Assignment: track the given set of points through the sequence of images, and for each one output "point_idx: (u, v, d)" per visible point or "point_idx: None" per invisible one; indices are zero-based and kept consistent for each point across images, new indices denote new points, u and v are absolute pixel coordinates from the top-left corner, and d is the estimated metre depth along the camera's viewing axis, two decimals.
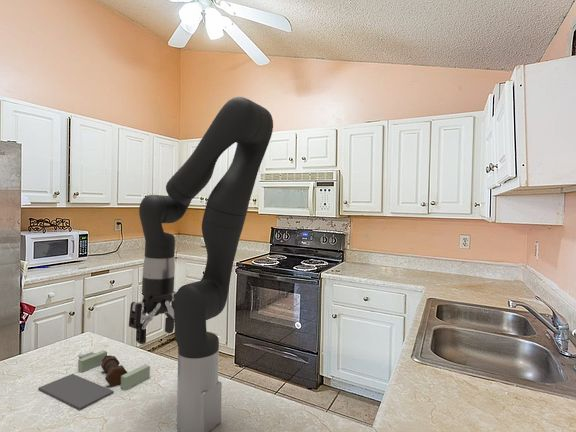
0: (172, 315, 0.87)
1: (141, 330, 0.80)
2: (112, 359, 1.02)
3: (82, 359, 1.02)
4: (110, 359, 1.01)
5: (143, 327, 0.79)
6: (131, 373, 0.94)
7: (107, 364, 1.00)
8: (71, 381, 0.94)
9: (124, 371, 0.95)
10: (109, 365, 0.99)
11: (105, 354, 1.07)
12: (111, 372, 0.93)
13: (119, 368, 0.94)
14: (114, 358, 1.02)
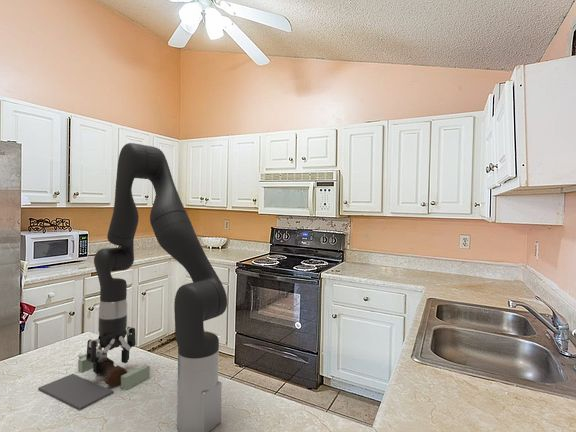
0: (127, 348, 1.03)
1: (97, 363, 0.95)
2: (105, 361, 1.00)
3: (82, 359, 1.02)
4: (103, 362, 1.00)
5: (98, 360, 0.95)
6: (131, 373, 0.94)
7: (102, 367, 0.98)
8: (71, 381, 0.94)
9: (122, 370, 0.94)
10: (104, 368, 0.97)
11: None
12: (109, 375, 0.92)
13: (116, 369, 0.93)
14: (107, 359, 1.00)
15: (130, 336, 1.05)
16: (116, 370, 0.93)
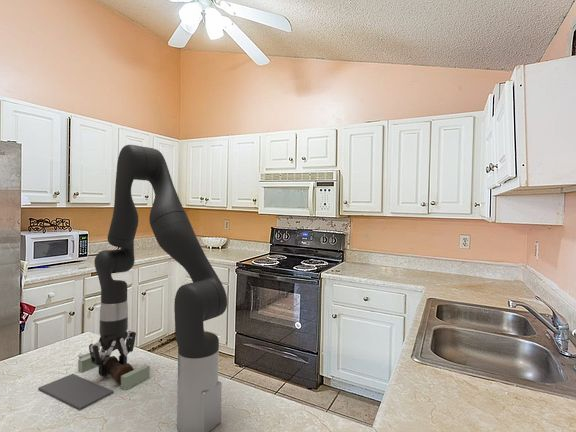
0: (124, 352, 1.02)
1: (102, 365, 0.96)
2: (113, 359, 1.01)
3: (82, 359, 1.02)
4: (111, 359, 1.01)
5: (104, 363, 0.96)
6: (131, 373, 0.94)
7: (109, 364, 0.99)
8: (71, 381, 0.94)
9: (131, 369, 0.96)
10: (112, 365, 0.98)
11: None
12: (119, 370, 0.94)
13: (127, 366, 0.95)
14: (114, 358, 1.02)
15: (129, 340, 1.04)
16: (126, 367, 0.95)
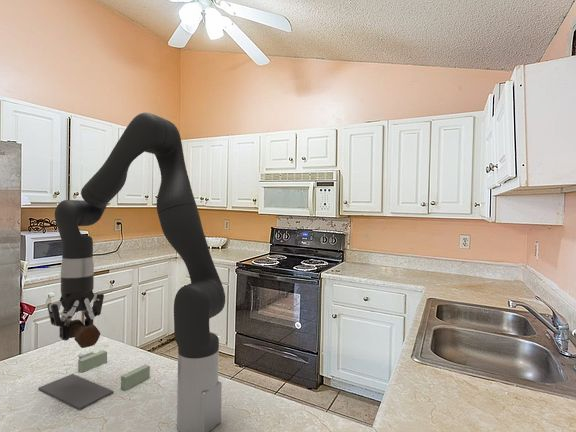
0: (90, 315, 0.92)
1: (63, 327, 0.87)
2: (77, 322, 0.91)
3: (82, 359, 1.02)
4: (74, 322, 0.91)
5: (65, 324, 0.86)
6: (131, 373, 0.94)
7: (72, 327, 0.90)
8: (71, 381, 0.94)
9: (96, 330, 0.86)
10: (75, 327, 0.89)
11: (105, 354, 1.07)
12: (82, 331, 0.84)
13: (91, 327, 0.86)
14: (79, 321, 0.92)
15: (97, 303, 0.95)
16: (90, 328, 0.85)
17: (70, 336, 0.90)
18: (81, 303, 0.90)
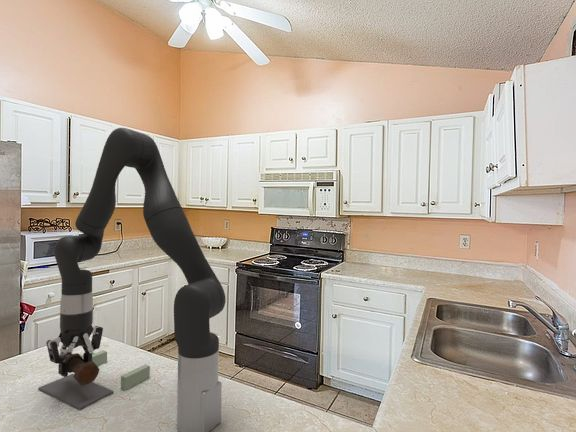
0: (89, 349, 0.92)
1: (62, 364, 0.87)
2: (76, 357, 0.92)
3: None
4: (73, 357, 0.91)
5: (64, 361, 0.86)
6: (131, 373, 0.94)
7: (71, 362, 0.90)
8: (71, 381, 0.94)
9: (95, 367, 0.87)
10: (74, 363, 0.89)
11: (105, 354, 1.07)
12: (81, 369, 0.84)
13: (90, 364, 0.86)
14: (78, 355, 0.92)
15: (96, 336, 0.95)
16: (89, 365, 0.85)
17: (69, 371, 0.90)
18: (80, 338, 0.90)
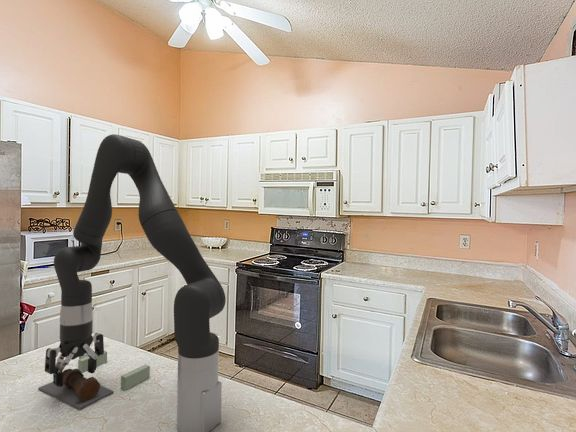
0: (93, 356, 0.93)
1: (57, 374, 0.86)
2: (76, 372, 0.91)
3: (82, 359, 1.02)
4: (73, 372, 0.91)
5: (59, 371, 0.85)
6: (131, 373, 0.94)
7: (71, 378, 0.90)
8: None
9: (96, 383, 0.87)
10: (74, 379, 0.89)
11: (105, 354, 1.07)
12: (82, 385, 0.84)
13: (91, 380, 0.86)
14: (78, 371, 0.92)
15: (97, 343, 0.95)
16: (90, 381, 0.86)
17: (69, 387, 0.90)
18: (81, 349, 0.90)
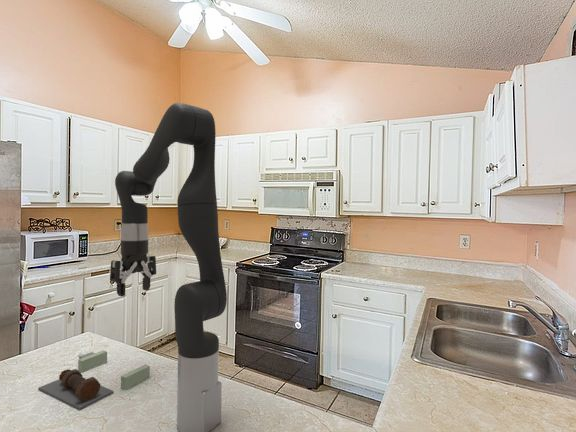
0: (148, 274, 1.03)
1: (121, 284, 0.95)
2: (75, 373, 0.91)
3: (82, 359, 1.02)
4: (72, 373, 0.91)
5: (122, 281, 0.95)
6: (131, 373, 0.94)
7: (70, 379, 0.89)
8: None
9: (97, 383, 0.87)
10: (74, 379, 0.89)
11: (105, 354, 1.07)
12: (83, 386, 0.84)
13: (91, 380, 0.86)
14: (77, 371, 0.92)
15: (151, 264, 1.04)
16: (91, 381, 0.86)
17: (68, 387, 0.90)
18: (139, 265, 1.00)
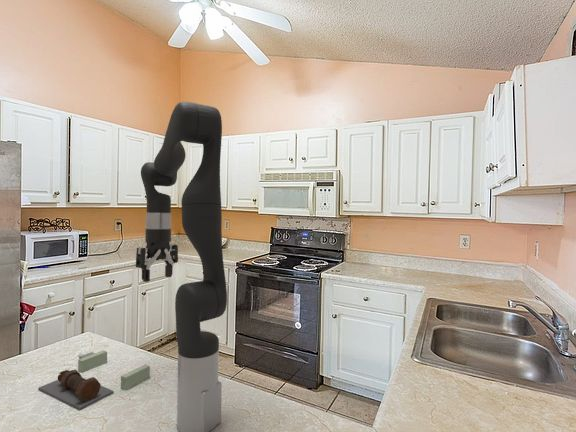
0: (170, 262, 1.07)
1: (145, 270, 0.99)
2: (74, 373, 0.91)
3: (82, 359, 1.02)
4: (71, 373, 0.91)
5: (147, 267, 0.99)
6: (131, 373, 0.94)
7: (69, 379, 0.89)
8: None
9: (97, 383, 0.87)
10: (73, 380, 0.88)
11: (105, 354, 1.07)
12: (83, 386, 0.84)
13: (92, 380, 0.86)
14: (76, 372, 0.91)
15: (173, 252, 1.09)
16: (91, 381, 0.86)
17: (67, 388, 0.90)
18: (162, 253, 1.04)
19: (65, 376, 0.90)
